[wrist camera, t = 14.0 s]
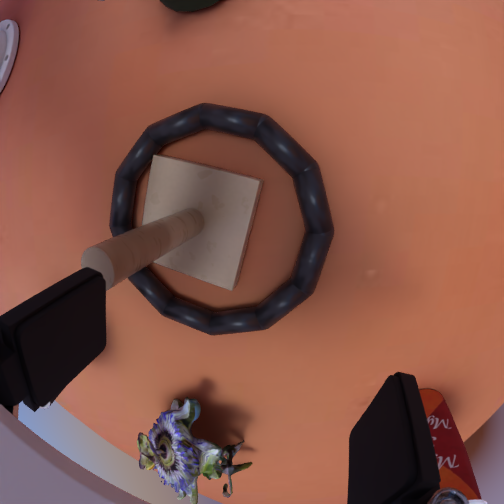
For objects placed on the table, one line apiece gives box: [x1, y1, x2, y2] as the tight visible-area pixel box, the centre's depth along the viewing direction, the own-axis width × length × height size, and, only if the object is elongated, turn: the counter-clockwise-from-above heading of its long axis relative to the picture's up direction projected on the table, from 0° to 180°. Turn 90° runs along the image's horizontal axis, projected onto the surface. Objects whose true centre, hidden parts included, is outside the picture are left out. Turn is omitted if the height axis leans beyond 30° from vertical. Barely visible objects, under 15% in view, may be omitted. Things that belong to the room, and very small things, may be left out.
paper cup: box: [419, 389, 487, 504], centre depth 16 cm, size 8×8×14 cm
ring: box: [109, 103, 334, 335], centre depth 21 cm, size 17×17×2 cm
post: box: [81, 155, 264, 291], centre depth 17 cm, size 8×8×11 cm
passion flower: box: [137, 397, 252, 504], centre depth 25 cm, size 11×11×12 cm
